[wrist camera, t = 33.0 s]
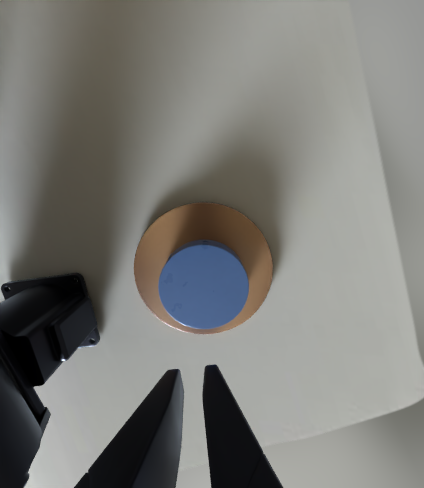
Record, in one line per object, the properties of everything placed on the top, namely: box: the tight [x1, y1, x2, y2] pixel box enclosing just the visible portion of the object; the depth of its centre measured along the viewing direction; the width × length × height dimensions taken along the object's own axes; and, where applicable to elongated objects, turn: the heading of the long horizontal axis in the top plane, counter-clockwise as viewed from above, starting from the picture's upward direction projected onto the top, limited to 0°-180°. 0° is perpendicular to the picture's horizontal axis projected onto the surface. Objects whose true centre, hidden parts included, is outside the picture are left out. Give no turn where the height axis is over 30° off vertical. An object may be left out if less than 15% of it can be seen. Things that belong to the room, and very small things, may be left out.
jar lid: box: [158, 240, 249, 329], centre depth 17 cm, size 7×6×2 cm
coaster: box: [134, 202, 273, 334], centre depth 18 cm, size 11×11×1 cm
